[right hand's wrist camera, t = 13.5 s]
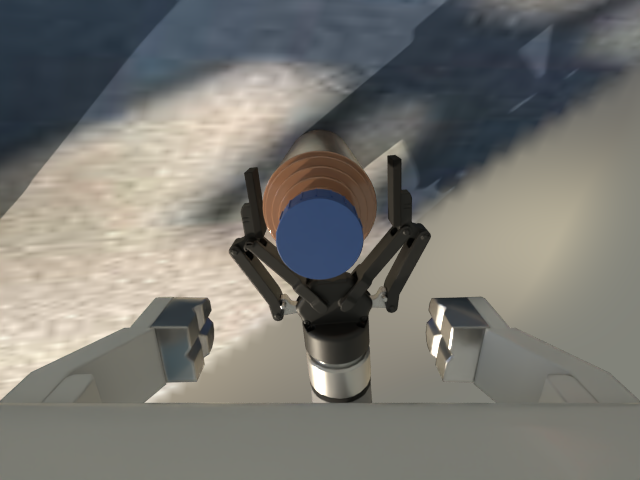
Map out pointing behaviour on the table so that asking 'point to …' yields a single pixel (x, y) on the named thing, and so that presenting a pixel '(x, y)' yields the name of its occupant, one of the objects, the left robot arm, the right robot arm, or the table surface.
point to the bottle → (319, 178)
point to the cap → (319, 234)
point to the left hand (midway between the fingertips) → (322, 163)
